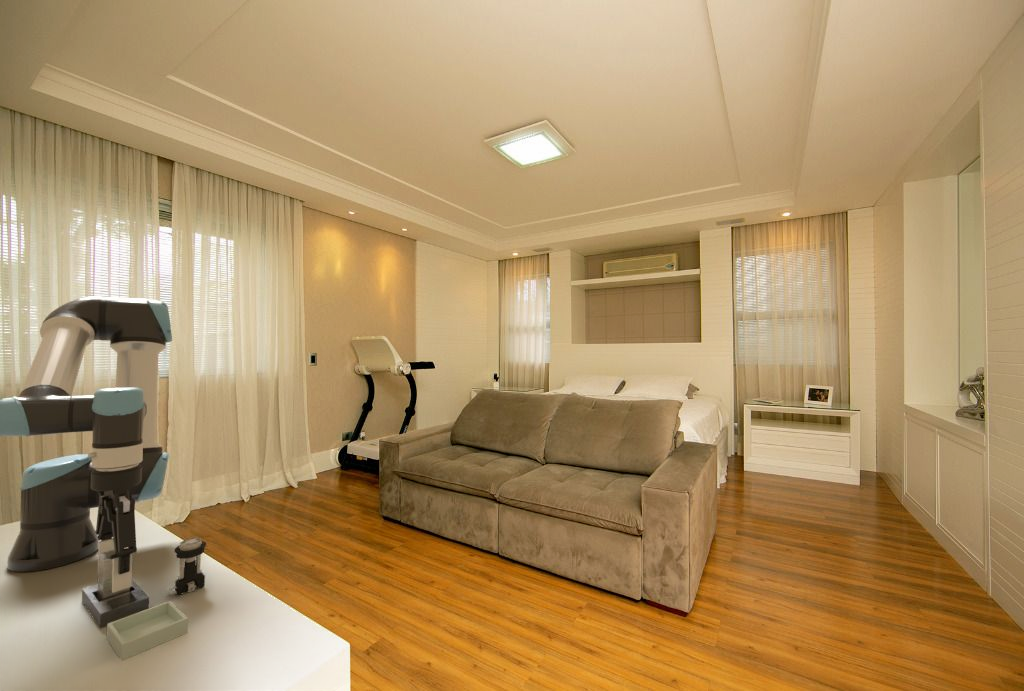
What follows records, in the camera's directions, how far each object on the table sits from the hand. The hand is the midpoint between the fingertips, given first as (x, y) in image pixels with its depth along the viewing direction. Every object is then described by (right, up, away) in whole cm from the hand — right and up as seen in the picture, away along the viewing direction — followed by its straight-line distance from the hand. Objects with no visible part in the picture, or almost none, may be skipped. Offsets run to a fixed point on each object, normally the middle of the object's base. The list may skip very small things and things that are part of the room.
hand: (114, 580), depth 87 cm
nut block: (0, -5, 0) cm, 5 cm away
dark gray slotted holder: (+1, -5, -1) cm, 5 cm away
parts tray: (+14, -5, -9) cm, 18 cm away
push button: (+10, -5, +5) cm, 13 cm away
